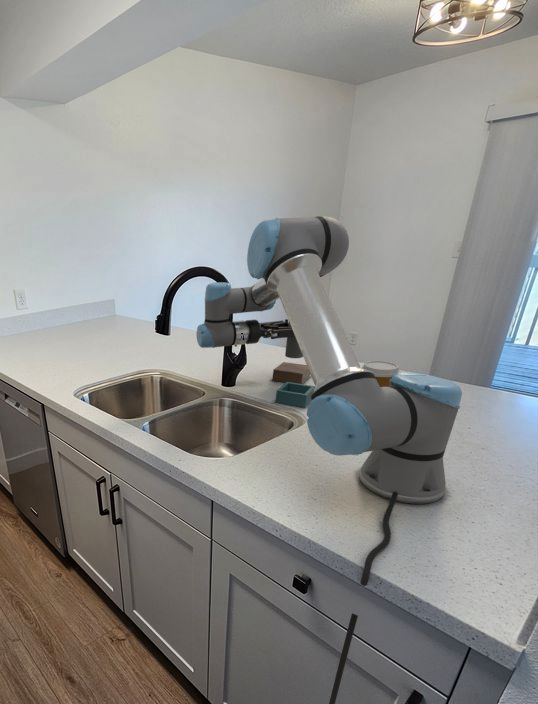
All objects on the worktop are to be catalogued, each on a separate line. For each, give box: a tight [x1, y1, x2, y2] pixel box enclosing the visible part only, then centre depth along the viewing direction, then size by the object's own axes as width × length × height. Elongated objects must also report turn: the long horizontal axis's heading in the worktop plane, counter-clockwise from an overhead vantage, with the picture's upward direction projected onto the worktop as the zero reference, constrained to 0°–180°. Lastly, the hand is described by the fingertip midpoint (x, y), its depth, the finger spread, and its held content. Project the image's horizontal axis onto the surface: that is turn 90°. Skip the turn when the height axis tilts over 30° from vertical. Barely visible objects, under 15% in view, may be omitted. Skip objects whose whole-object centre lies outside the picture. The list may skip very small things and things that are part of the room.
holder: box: [274, 382, 315, 409], centre depth 133 cm, size 9×9×4 cm
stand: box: [271, 361, 311, 384], centre depth 151 cm, size 10×10×4 cm
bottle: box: [284, 322, 304, 359], centre depth 143 cm, size 6×6×15 cm
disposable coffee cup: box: [361, 360, 400, 387], centre depth 126 cm, size 10×10×12 cm
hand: (312, 326), depth 142 cm, fingers closed on bottle, 6 cm apart
